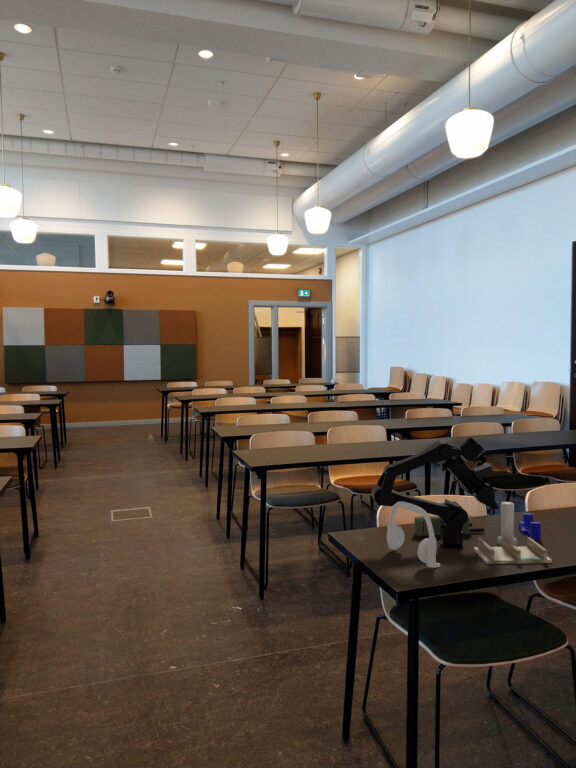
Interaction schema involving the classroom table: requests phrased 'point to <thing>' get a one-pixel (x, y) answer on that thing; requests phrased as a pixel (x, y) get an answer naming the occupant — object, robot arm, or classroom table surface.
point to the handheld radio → (422, 527)
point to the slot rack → (512, 553)
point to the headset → (397, 536)
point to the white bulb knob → (507, 523)
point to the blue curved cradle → (530, 527)
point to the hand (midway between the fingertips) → (492, 505)
